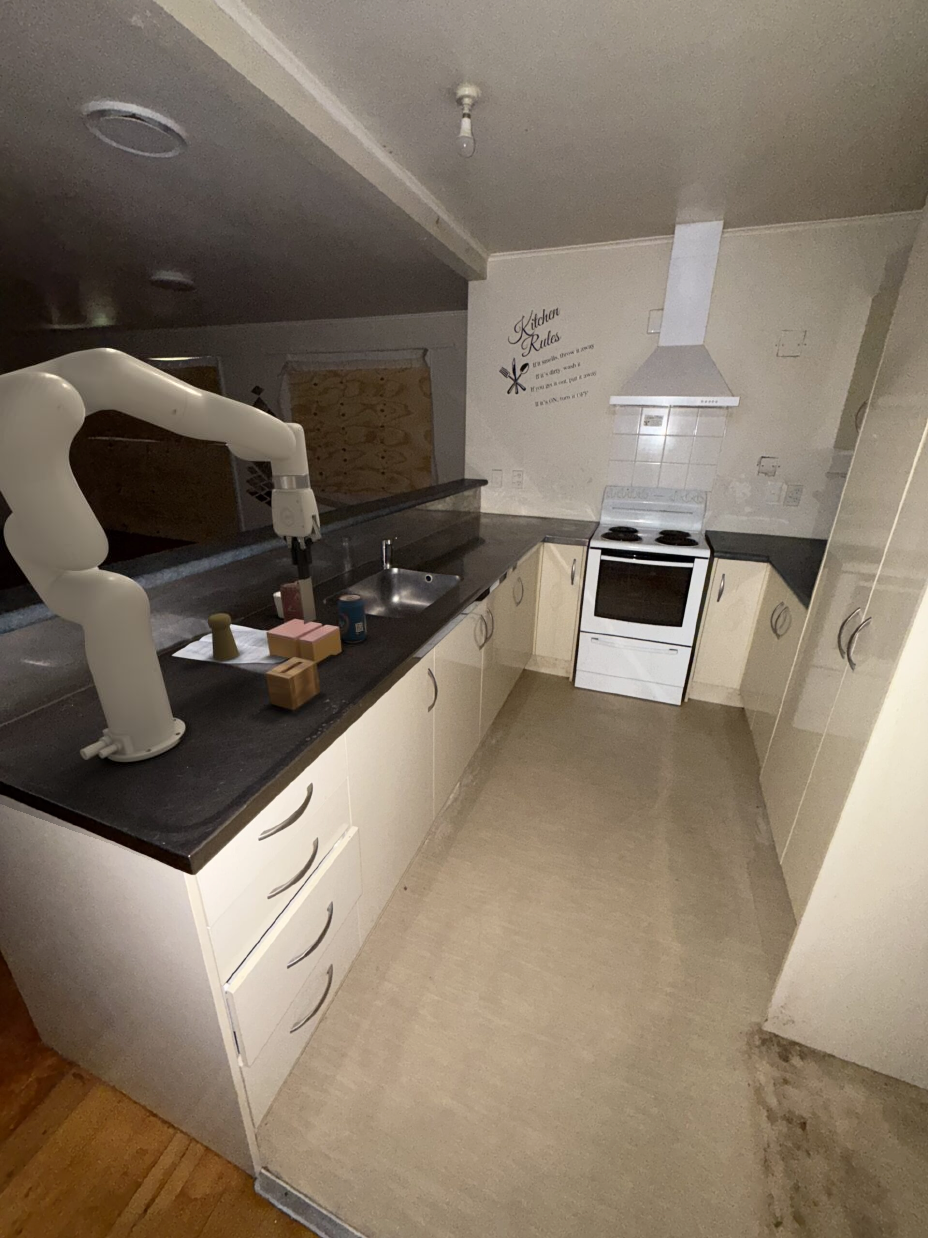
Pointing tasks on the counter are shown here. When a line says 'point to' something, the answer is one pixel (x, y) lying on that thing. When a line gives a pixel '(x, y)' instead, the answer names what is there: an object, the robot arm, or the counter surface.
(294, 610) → the can
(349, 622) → the soda can
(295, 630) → the cake
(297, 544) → the knife
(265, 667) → the counter surface
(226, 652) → the olive pepper shaker
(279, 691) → the knife block
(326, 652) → the cake slice
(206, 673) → the counter surface
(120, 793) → the counter surface
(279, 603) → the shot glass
